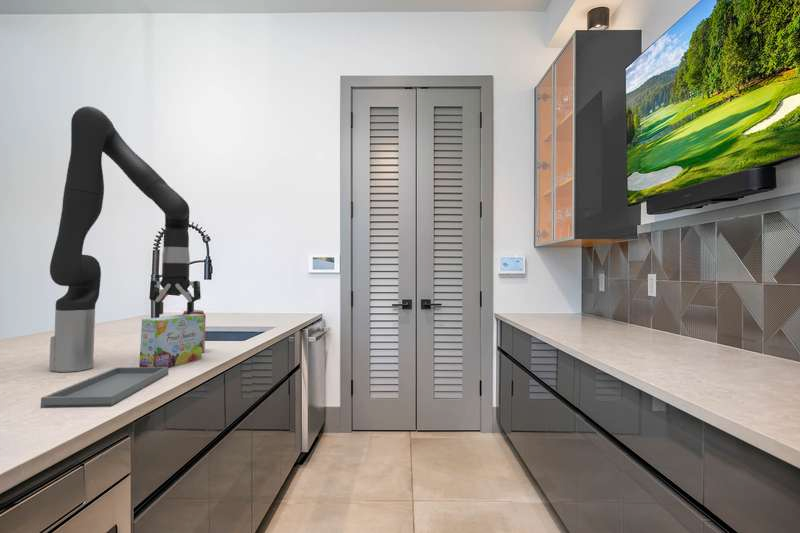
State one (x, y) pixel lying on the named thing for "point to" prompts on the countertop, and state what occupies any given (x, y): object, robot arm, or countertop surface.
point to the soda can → (203, 324)
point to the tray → (105, 387)
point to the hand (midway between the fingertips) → (175, 314)
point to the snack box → (171, 340)
